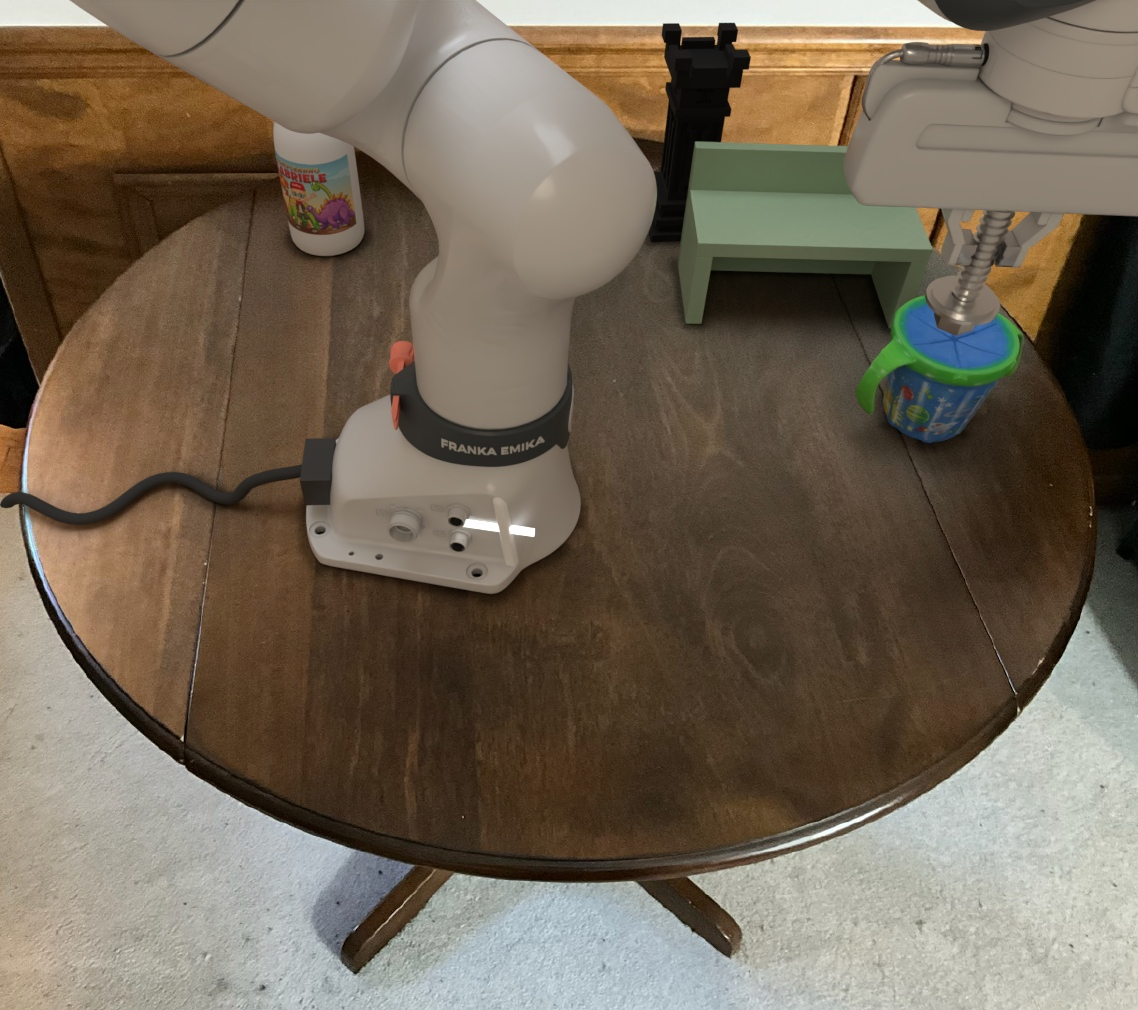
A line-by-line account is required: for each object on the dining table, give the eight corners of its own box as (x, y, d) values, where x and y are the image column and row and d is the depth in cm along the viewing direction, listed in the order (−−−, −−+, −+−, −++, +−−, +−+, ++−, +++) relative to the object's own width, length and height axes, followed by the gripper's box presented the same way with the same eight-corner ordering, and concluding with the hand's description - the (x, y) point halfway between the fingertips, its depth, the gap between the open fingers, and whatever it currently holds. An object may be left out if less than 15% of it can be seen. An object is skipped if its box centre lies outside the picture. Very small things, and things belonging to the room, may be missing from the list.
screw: (902, 311, 71) (957, 294, 73) (948, 354, 69) (1004, 335, 70) (966, 137, 62) (1028, 121, 63) (1022, 179, 59) (1085, 162, 60)
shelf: (685, 323, 103) (704, 200, 93) (677, 262, 110) (694, 141, 99) (904, 329, 104) (948, 207, 93) (883, 268, 111) (922, 148, 100)
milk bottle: (304, 212, 113) (271, 28, 98) (373, 220, 113) (351, 36, 98) (281, 253, 108) (243, 67, 93) (354, 262, 108) (327, 76, 93)
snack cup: (870, 472, 91) (902, 386, 83) (820, 391, 97) (846, 304, 90) (1026, 443, 94) (1072, 358, 86) (968, 367, 101) (1006, 281, 93)
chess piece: (639, 199, 117) (658, 21, 102) (709, 197, 118) (737, 20, 103) (651, 241, 112) (672, 60, 97) (723, 239, 113) (755, 59, 98)
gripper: (889, 69, 54) (827, 285, 64) (1273, 86, 55) (1150, 297, 65) (866, 14, 58) (811, 226, 69) (1223, 31, 59) (1115, 238, 69)
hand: (979, 261), depth 67 cm, fingers closed on screw, 2 cm apart
